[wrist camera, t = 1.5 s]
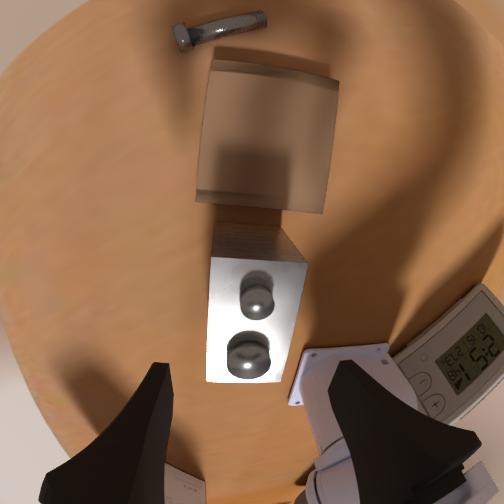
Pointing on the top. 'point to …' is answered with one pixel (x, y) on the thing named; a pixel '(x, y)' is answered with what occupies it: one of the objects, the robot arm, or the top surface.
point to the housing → (252, 302)
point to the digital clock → (457, 357)
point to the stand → (266, 137)
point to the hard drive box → (183, 487)
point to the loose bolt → (217, 29)
